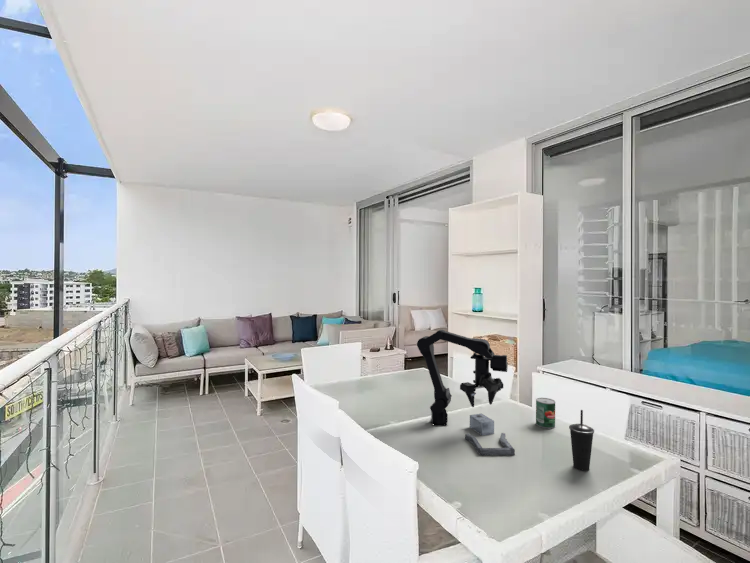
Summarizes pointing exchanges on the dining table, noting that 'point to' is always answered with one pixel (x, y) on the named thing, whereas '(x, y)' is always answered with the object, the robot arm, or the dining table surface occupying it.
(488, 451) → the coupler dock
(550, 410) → the canned tomato
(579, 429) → the drinking cup
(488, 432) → the block
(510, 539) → the dining table surface
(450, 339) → the robot arm
